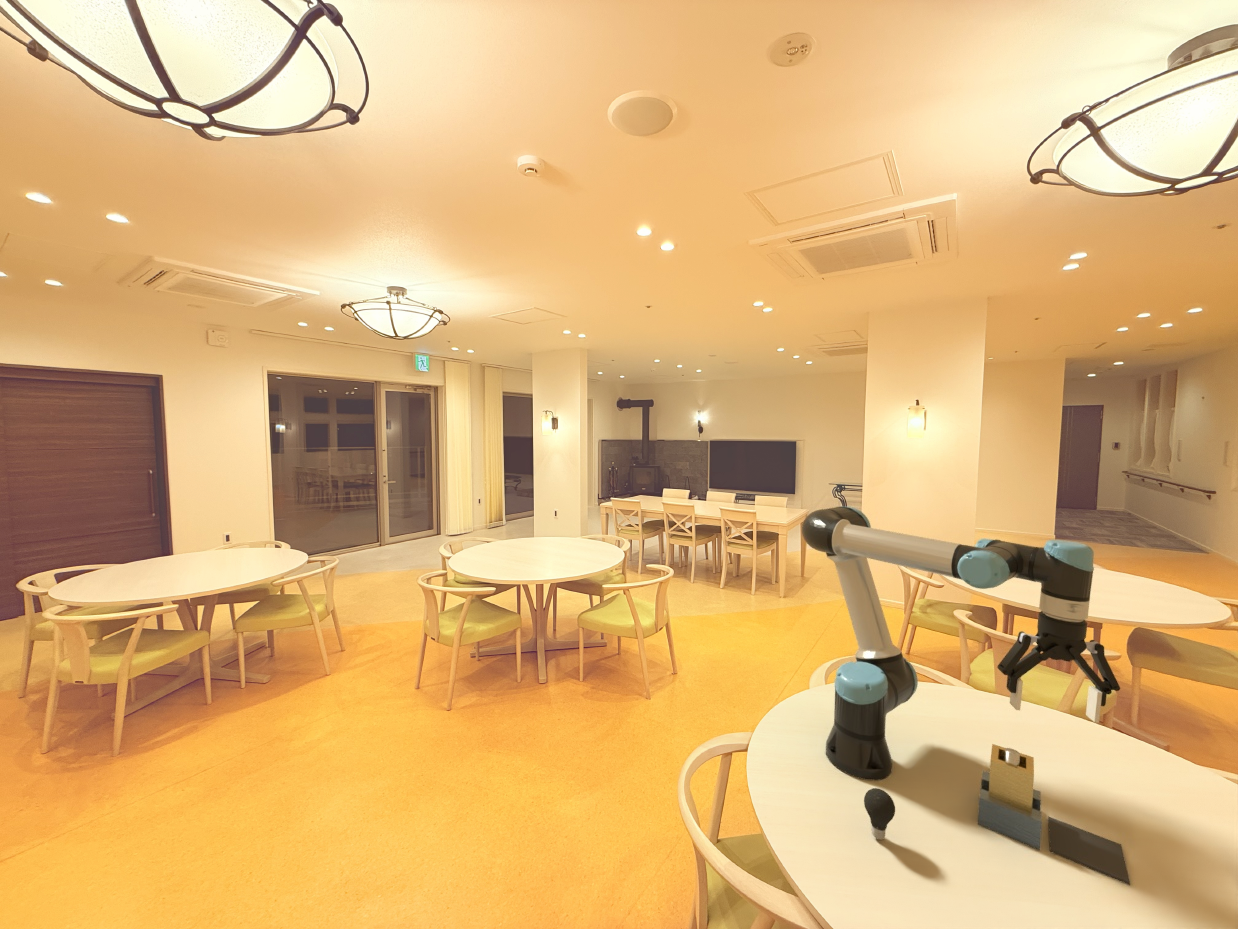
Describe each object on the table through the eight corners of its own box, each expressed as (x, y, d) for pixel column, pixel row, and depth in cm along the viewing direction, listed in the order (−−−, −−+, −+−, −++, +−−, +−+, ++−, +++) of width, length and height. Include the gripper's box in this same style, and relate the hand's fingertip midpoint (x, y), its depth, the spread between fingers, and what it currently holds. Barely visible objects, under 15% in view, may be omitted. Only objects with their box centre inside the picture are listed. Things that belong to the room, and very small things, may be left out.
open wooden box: (988, 795, 103) (990, 759, 102) (990, 778, 108) (992, 743, 107) (1031, 812, 98) (1033, 774, 98) (1031, 793, 103) (1033, 757, 103)
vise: (977, 824, 102) (981, 754, 102) (983, 779, 116) (986, 717, 115) (1040, 850, 96) (1044, 776, 95) (1038, 799, 110) (1042, 734, 109)
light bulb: (893, 854, 95) (895, 805, 94) (861, 841, 98) (863, 794, 97) (894, 834, 99) (896, 788, 99) (864, 823, 102) (865, 778, 102)
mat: (1049, 851, 96) (1050, 849, 96) (1048, 819, 104) (1048, 816, 104) (1129, 885, 89) (1130, 882, 89) (1120, 847, 97) (1121, 844, 97)
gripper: (1001, 614, 100) (992, 711, 102) (1152, 631, 93) (1140, 735, 95) (984, 601, 107) (976, 693, 109) (1124, 617, 100) (1113, 714, 102)
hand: (1052, 713), depth 102 cm, fingers open, 13 cm apart
